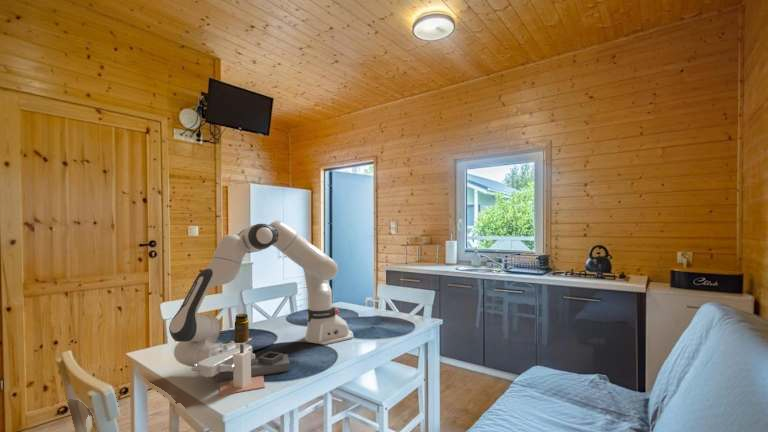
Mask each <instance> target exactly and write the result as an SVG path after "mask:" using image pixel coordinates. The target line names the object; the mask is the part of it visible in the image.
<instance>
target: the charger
mask: <svg viewBox="0 0 768 432" xmlns="http://www.w3.org/2000/svg"><path fill="white" fill-rule="evenodd" d="M233 364H234V365H235V370H233V380H232V381H233V384H234V386H235V387H240V388H244V387H245V386H247V385H249V384H250V383H251V351H246V350H244V344H240V351H238V352H236V353H234V354H233Z"/></svg>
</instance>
